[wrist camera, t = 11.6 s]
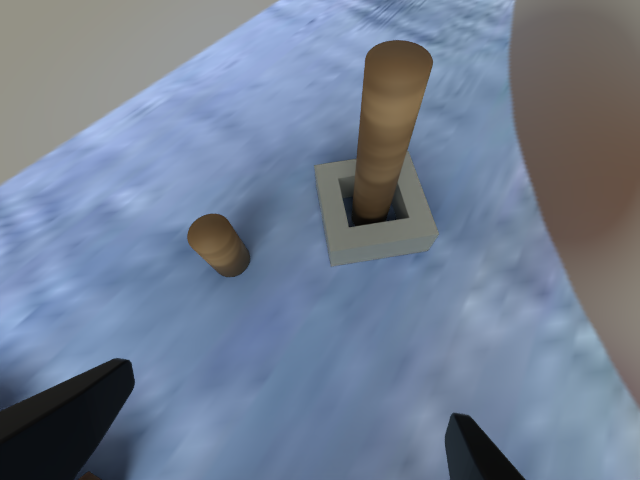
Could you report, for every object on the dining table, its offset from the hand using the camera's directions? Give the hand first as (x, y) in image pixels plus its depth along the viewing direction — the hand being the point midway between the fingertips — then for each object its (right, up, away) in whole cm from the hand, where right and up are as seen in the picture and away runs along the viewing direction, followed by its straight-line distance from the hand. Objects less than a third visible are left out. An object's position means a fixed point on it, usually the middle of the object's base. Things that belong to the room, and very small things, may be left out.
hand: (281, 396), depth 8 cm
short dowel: (-6, +3, +17) cm, 18 cm away
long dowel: (+5, +6, +18) cm, 20 cm away
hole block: (+5, +6, +18) cm, 20 cm away
